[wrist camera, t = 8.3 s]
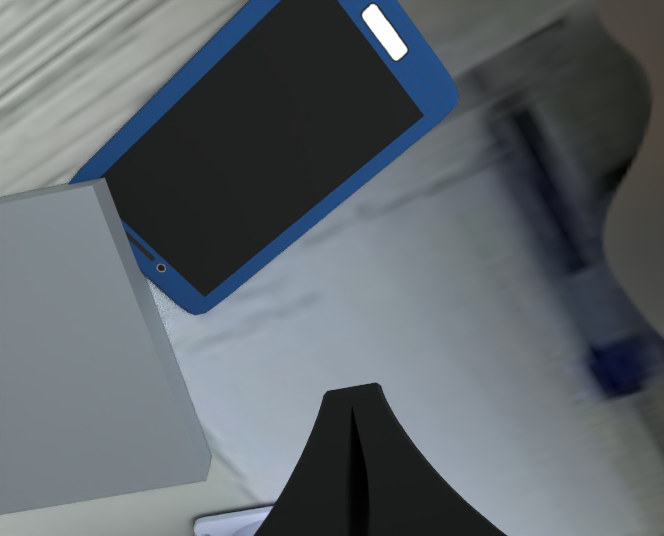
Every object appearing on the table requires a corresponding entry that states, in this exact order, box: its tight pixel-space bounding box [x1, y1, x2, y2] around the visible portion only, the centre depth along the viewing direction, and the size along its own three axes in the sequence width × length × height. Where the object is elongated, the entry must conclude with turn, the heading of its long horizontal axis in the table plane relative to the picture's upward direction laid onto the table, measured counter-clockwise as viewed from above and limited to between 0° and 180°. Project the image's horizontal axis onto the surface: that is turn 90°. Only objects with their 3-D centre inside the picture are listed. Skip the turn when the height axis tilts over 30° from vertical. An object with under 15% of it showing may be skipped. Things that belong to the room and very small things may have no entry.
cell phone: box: [68, 0, 459, 315], centre depth 20 cm, size 7×14×1 cm, turn 130°
